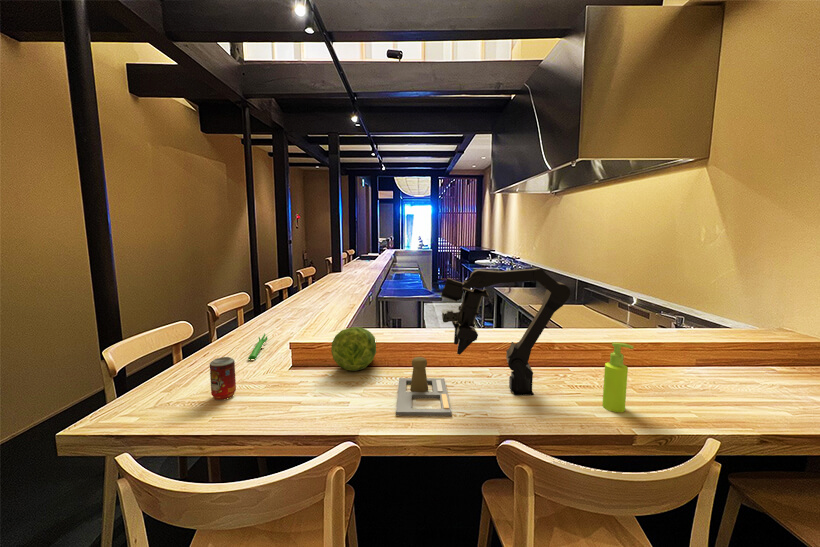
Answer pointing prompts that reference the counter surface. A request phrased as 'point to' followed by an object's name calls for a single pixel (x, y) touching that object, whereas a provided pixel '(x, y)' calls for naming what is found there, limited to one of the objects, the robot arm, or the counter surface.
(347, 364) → the lettuce
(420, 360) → the cork
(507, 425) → the counter surface
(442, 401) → the panel
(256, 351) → the green onion
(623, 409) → the soap dispenser
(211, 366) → the soda can
